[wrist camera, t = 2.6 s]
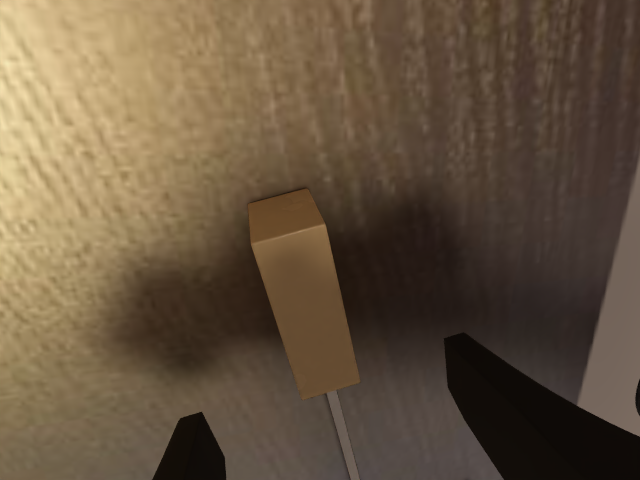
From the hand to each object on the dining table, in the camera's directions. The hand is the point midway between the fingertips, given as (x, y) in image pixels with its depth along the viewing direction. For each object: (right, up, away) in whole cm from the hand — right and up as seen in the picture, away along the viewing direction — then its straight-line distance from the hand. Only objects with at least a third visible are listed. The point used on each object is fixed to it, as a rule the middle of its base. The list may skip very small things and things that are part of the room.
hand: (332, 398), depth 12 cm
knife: (0, -2, +7) cm, 7 cm away
